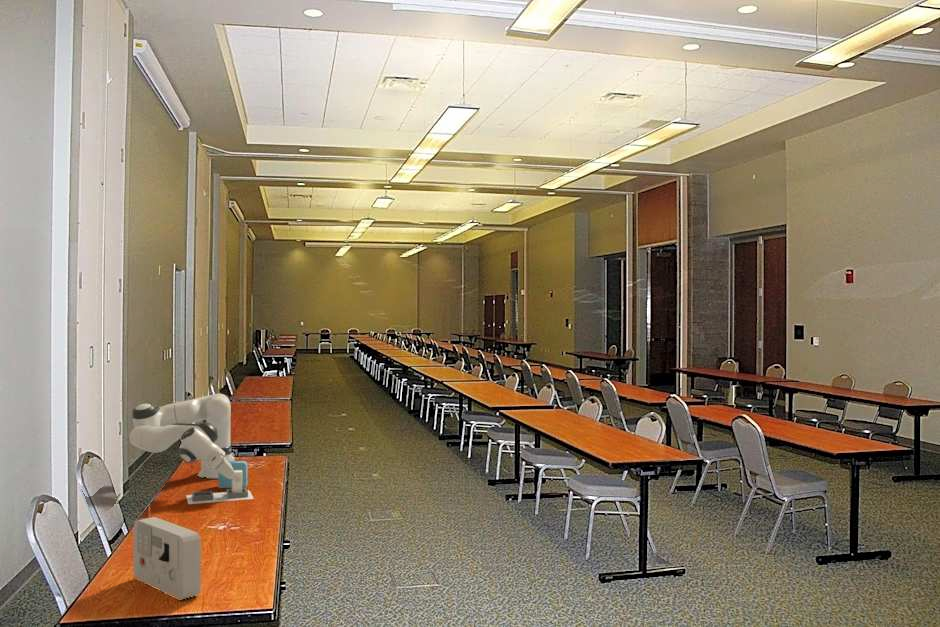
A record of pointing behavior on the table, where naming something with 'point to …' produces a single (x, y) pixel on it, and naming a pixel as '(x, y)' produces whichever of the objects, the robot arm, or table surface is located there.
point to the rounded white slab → (167, 557)
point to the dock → (218, 496)
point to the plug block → (237, 485)
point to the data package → (227, 483)
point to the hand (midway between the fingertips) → (238, 479)
